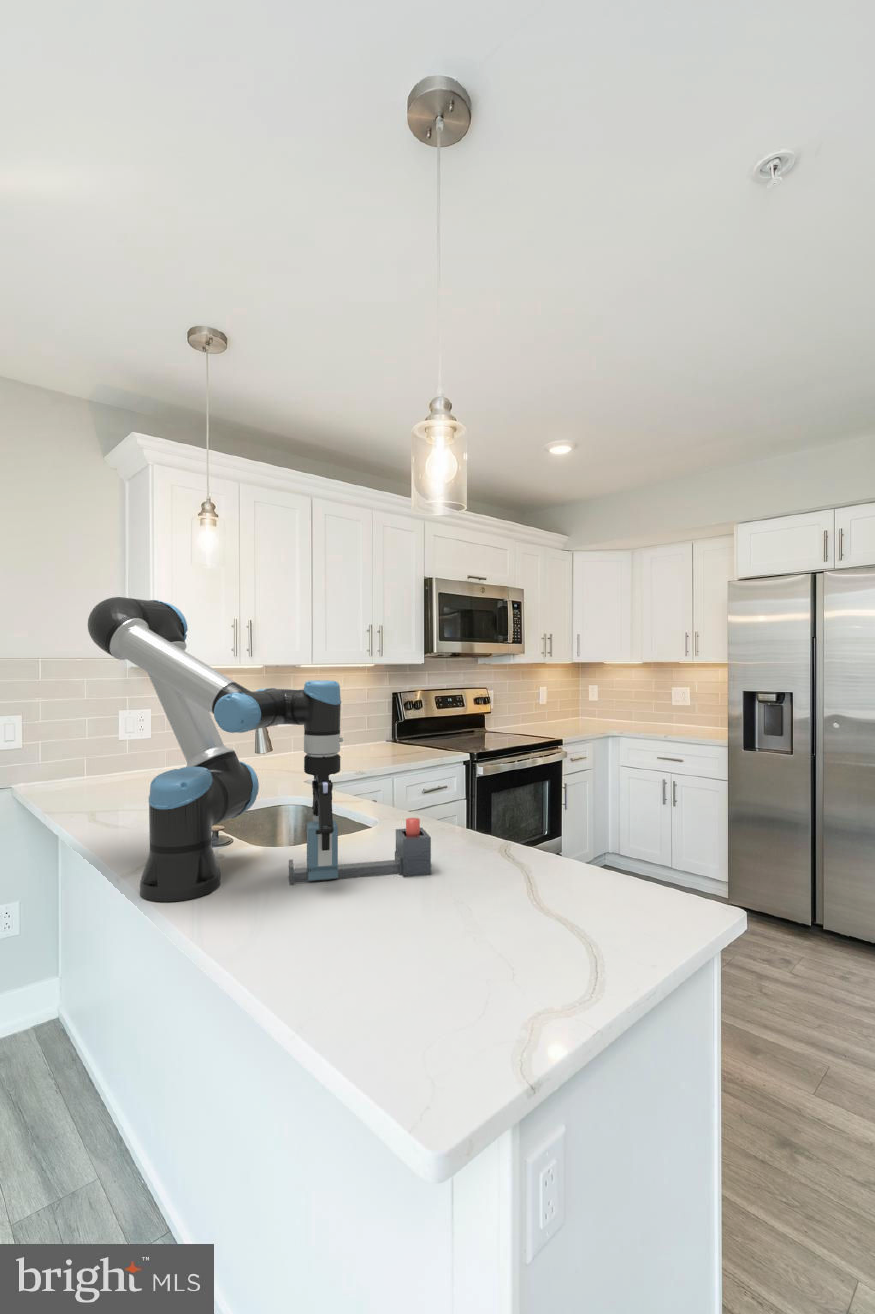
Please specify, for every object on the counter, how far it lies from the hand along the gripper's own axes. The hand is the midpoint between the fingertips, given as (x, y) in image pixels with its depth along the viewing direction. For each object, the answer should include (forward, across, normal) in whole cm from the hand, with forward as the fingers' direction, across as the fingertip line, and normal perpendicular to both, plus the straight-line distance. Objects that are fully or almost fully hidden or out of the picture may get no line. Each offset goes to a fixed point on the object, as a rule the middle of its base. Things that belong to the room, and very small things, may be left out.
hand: (322, 855), depth 135 cm
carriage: (+4, 0, 0) cm, 4 cm away
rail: (+5, 0, -5) cm, 7 cm away
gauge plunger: (0, 0, -20) cm, 20 cm away
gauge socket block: (+5, 0, -20) cm, 20 cm away
